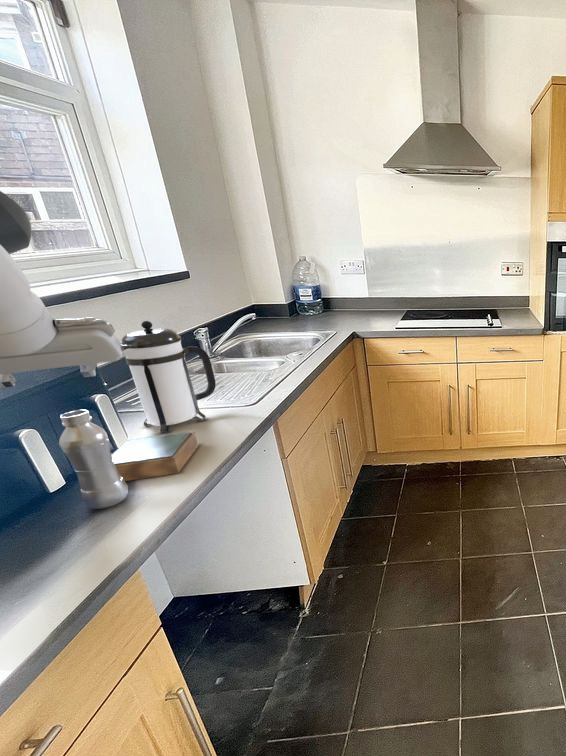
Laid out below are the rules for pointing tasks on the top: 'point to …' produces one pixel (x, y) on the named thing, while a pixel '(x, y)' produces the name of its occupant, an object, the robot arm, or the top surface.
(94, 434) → the plastic bottle
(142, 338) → the coffee press
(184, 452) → the riser
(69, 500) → the top surface
